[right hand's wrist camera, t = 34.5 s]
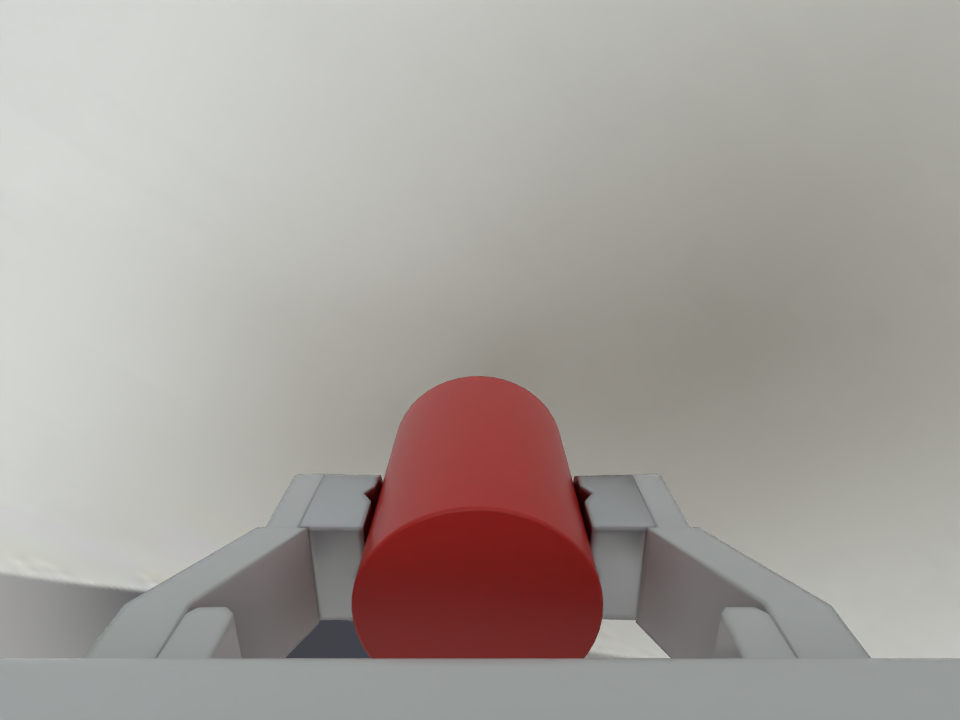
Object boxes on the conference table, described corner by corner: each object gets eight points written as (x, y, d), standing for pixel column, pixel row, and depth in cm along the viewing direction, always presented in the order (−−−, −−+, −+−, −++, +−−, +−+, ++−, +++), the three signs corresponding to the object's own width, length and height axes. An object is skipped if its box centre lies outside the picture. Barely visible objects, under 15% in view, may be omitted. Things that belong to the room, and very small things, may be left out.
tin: (514, 346, 11) (535, 465, 7) (588, 481, 12) (642, 653, 8) (363, 420, 12) (301, 573, 8) (446, 544, 13) (429, 736, 9)
